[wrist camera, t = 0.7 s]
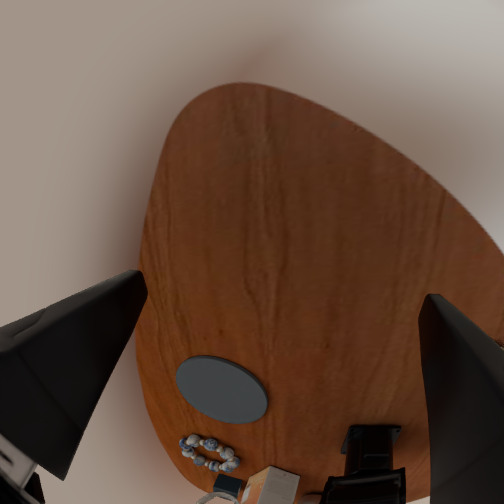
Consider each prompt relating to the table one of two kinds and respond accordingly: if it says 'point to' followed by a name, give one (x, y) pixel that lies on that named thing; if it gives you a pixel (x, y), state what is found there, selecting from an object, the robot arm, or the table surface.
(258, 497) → the small box
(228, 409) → the felt pad
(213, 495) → the watch
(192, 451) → the bracelet
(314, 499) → the silver water bottle
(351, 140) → the table surface
